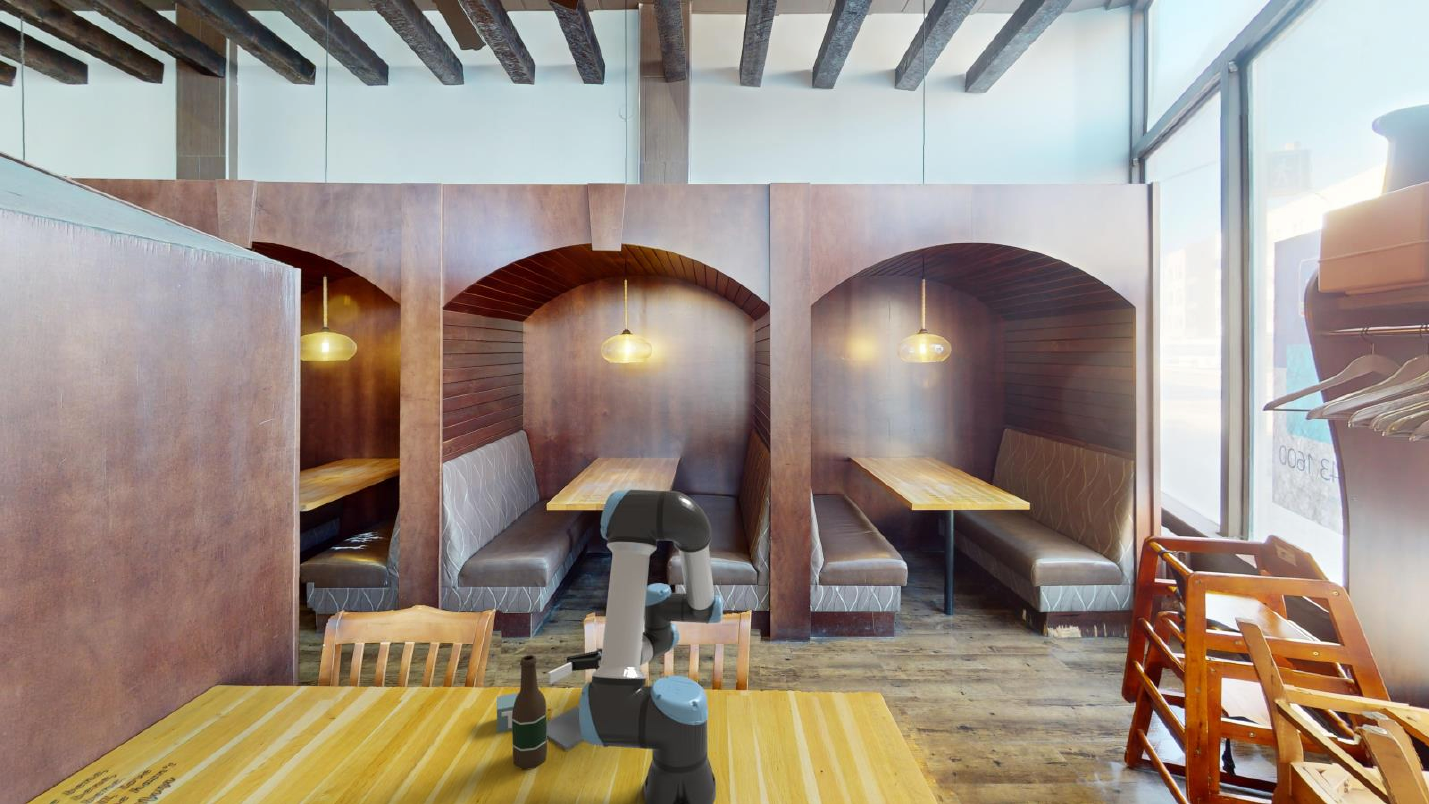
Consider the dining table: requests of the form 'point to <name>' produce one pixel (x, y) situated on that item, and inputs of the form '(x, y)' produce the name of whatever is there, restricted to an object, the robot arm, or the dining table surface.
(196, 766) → the dining table surface
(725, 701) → the dining table surface
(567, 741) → the mat
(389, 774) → the dining table surface
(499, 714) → the letter block
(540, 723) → the beer bottle
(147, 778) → the dining table surface
